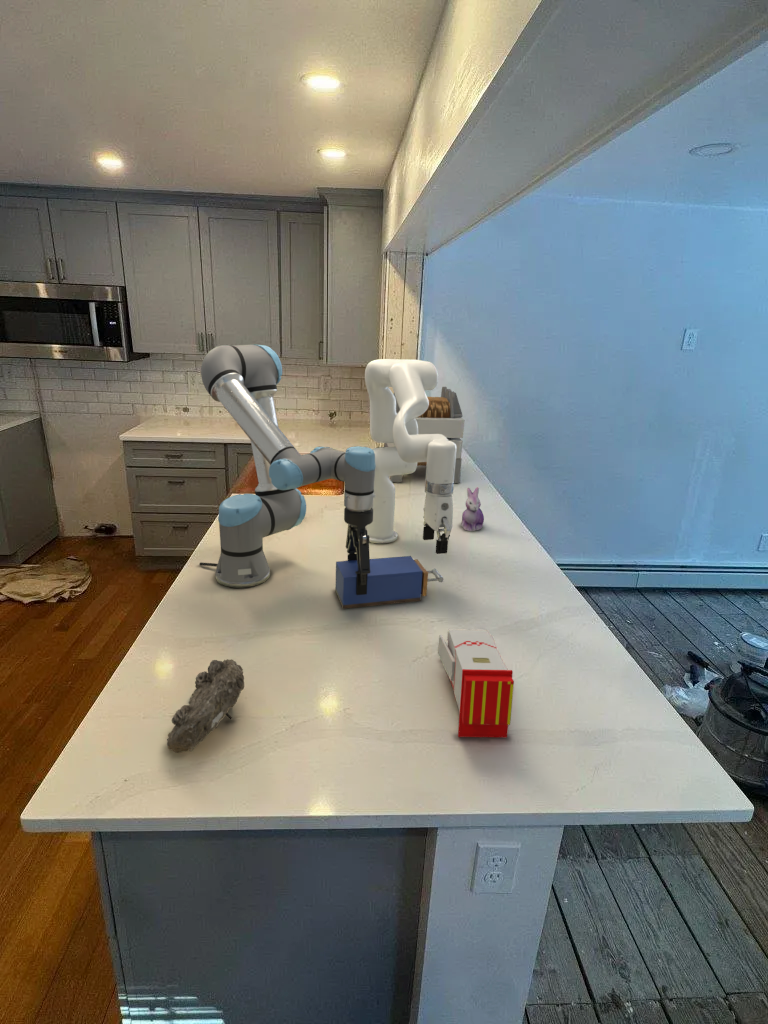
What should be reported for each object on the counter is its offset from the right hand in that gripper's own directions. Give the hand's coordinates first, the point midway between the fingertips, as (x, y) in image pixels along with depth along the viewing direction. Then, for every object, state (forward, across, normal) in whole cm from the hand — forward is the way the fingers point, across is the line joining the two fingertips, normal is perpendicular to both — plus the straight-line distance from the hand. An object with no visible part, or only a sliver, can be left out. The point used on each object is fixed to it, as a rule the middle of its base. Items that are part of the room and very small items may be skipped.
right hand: (434, 546), depth 156 cm
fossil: (+14, -40, +60) cm, 73 cm away
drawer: (+13, 0, +11) cm, 16 cm away
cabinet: (+14, 0, +16) cm, 21 cm away
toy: (+14, -44, +8) cm, 47 cm away
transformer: (+13, +115, -38) cm, 122 cm away
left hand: (+10, 0, +22) cm, 24 cm away
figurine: (+13, +43, -33) cm, 56 cm away
